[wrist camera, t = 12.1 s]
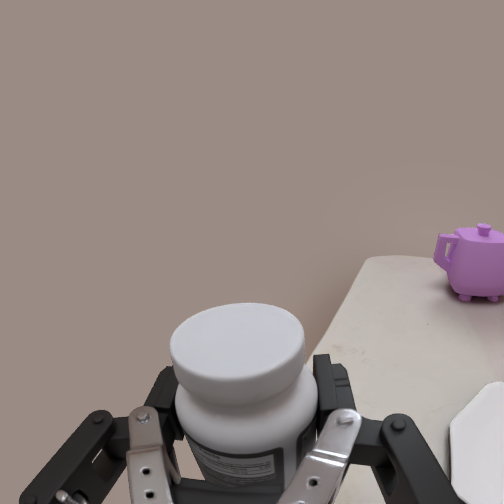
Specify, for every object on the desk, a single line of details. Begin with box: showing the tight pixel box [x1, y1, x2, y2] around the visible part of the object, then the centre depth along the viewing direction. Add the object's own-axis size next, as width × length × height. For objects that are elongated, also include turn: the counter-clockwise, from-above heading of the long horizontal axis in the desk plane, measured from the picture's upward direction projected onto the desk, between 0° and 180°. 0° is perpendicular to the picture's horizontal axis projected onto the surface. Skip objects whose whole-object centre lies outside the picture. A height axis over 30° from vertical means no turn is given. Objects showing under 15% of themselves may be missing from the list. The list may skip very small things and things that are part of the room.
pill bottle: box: [170, 303, 318, 490], centre depth 12 cm, size 6×6×10 cm
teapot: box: [433, 224, 504, 302], centre depth 44 cm, size 20×12×13 cm, turn 66°
